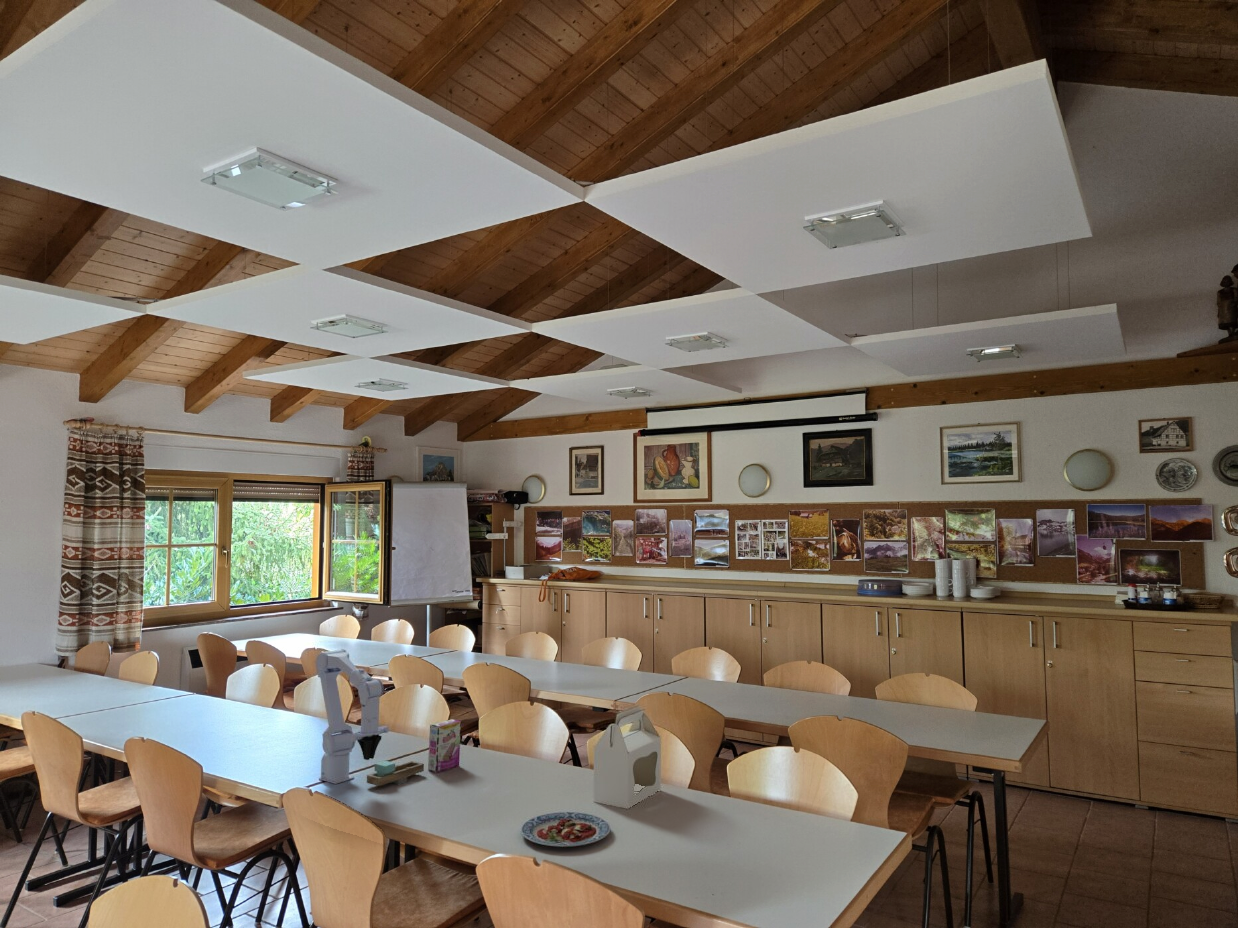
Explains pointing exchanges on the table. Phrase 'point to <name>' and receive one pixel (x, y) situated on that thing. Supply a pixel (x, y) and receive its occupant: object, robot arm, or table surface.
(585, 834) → the ceramic plate
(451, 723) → the candy bar box
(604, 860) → the table surface
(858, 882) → the table surface
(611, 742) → the gable box
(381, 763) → the block
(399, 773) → the wooden tray
